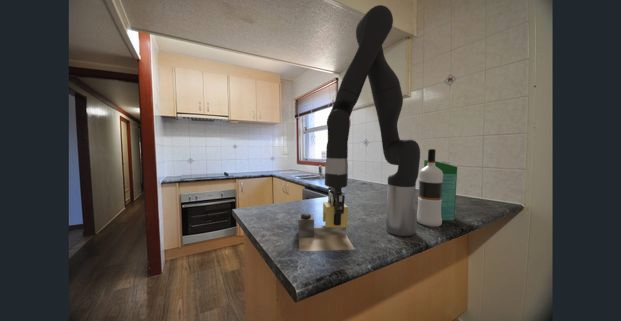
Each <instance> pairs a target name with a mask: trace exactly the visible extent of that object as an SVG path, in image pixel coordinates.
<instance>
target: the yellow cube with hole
mask: <svg viewBox="0 0 621 321" xmlns="http://www.w3.org/2000/svg"><path fill="white" fill-rule="evenodd" d="M322 203H323V204H322V222H324V226H326V227H346V228H347V227H348V217H349V206H348V205H347V204H346V203H344V214H341V225H334V207H333V206H332V203H330V202H328V201H323V202H322ZM335 204H336V203H335ZM338 210H340V207H338Z"/></svg>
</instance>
